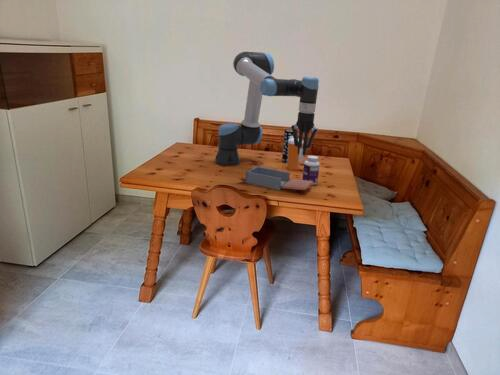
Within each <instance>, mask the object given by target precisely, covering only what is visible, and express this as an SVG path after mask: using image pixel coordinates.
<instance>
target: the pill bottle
mask: <svg viewBox="0 0 500 375" xmlns="http://www.w3.org/2000/svg"><path fill="white" fill-rule="evenodd" d="M306 159H307V160H305V161H303V162H304V163H303V171H302V179H301V180H306V181H313V184H311V185H310V186H315V185H317V184H318V183H319V182H318V181H319V180H318V179H319V174H320V173H319V172H320V166H321V164H320V162H319V161H318V160H319V156H316V155H307V158H306Z"/></svg>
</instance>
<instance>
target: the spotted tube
mask: <svg viewBox="0 0 500 375" xmlns="http://www.w3.org/2000/svg"><path fill="white" fill-rule="evenodd" d="M291 135H293V130H292V129H285V130H284V134H283V146H282V156H281V157H282V158H281V162H282V163H284V164H287V162H288V140H289V138H290V136H291ZM297 135H298V136H299V130H297Z"/></svg>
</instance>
